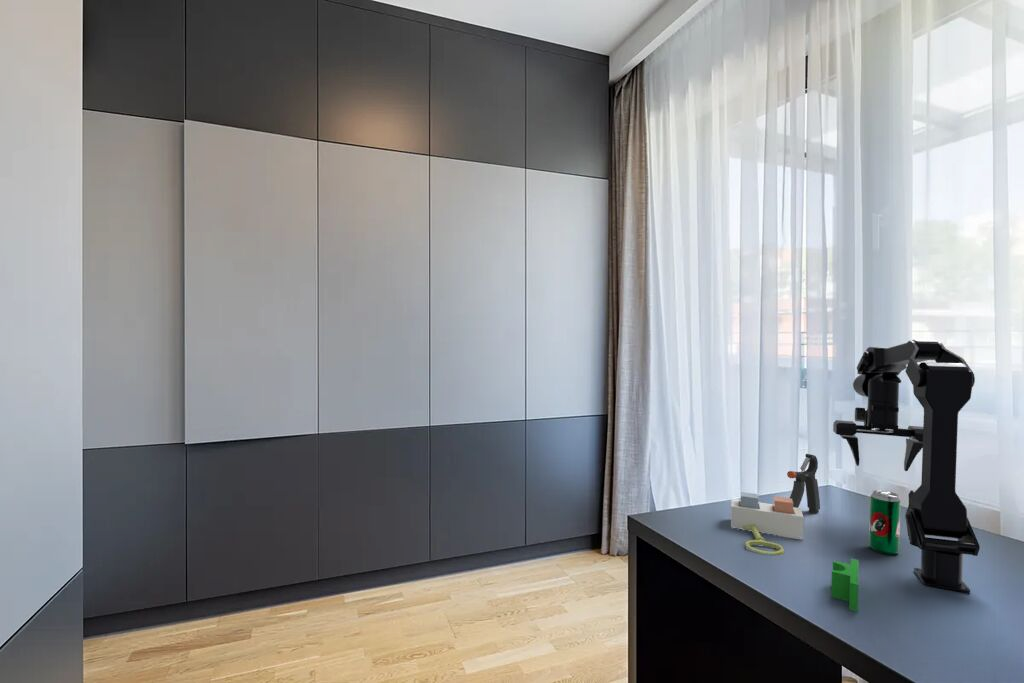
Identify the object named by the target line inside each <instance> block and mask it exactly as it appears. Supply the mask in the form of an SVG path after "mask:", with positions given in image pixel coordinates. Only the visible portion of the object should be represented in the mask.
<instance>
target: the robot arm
mask: <svg viewBox="0 0 1024 683" xmlns="http://www.w3.org/2000/svg"><path fill="white" fill-rule="evenodd" d="M927 361H931V362H927ZM932 361H934V362H932ZM918 363H919V364H918ZM856 370H857V375H858V376H857V377H856V378H854V380H853V383H852V387H853V390H854V391H855V392H856V394H858V395H859V396H861V397H866V398H867V407H866V408H867V409H866V408H865V407H855V409H854V421H853V420H840V419H839V420H838V419H836V420H835V421H833V425H832V427H833V429H832V431H833V432H834V433H835V434H836V435H838V436H840V438H842V439H843V440H846V441H847V444H848V445H849V448H850V451H851V453H852V457H853V459H854V463H855V466H856V467H859V466H860V451H859V450H860V449H859V438H858V437H857V436H856V434H867V435H878V436H879V435H881V436H889V437H890V436H893V437H901V438H902V437H905V445H906V446H905V453H904V460H903V470H904V471H905V472H908V471H909V469H910V468H911V465H912V464H913V462H914V460H915V459H916V457H917V455H918V454H919V453H920V452H921V451H922V457H921V458H922V459H921V481H920V482H921V484H920V485H919V487H918V488H917V489H912V490H910V491H909V493H908V506H907V509H906V511H905V516H904V517H905V522H906V530H907V531H906V532H907V536H908V540H909V544H910V545H911V546H914V547H917V548H918V549H919V550H921V554H920V555H921V557H920V562H921V563H920V568H919V567H914V568H913V571H914V573H915V574H916V575H917V577H918V578H919V579H920V581H921V582H922V584H924V585H925V586H928V587H929V586H930V587H936V588H941V589H946V590H951V591H958V592H963V593H968V594H969V593H971V589H970V588H969V587H968V586H967V584H966V583H965V582H964V581H963V561H964V557H963V556H964V555H968V556H974V557H978V556H979V552H980V549H981V548H980V547H981V546H980V544H979V541H978V539H977V537H976V534H975V532H974V530H973V527H972V525H971V522H970V520H969V518H968V510H967V507H966V506H965V504H964V503H963V501H962V500H961V498H960V497H959V495H958V494H957V492H956V487H957V486H956V482H957V481H956V479H957V477H956V476H957V453H958V452H957V450H958V431H959V430H958V429H959V428H958V424H959V413H960V411H961V410H962V408H963V407H964V406H965V405H966V404H967V403H968V402H969V401H970V400H971V399H972V398H971V397H972V393H973V392H972V391H973V387H974V386H975V382H976V380H975V379H976V377H975V373H974V372H973V370H972V369H971V367H970V366H969V365H968V363H967V361H966V360H965V359H964V358H963V357H962V356H960V355H957V354H956V353H954V352H953V351H951V350H949V349H947V348H946V347H945V346H944V344H943V343H942V342H941V341H939V340H938V341H937V340H936V339H912V340H908V341H907V342H905V343H901V344H898V345H893V346H891V347H890V346H888V347H886V346H868V348H866V350H865V351H864V352H863V354H862V356H861V357H860V360H859V362H858V364H857V366H856ZM904 370H905V371H904ZM902 371H904V372H905V374H906V375H907V377H908V379H909V381H910V382H911V384H912V387H913V388H912V389H913V391H912V392H913V395H914V397H915V399H916V400H917V401H918V402H919V404H920V405H921V407H922V409H923V425H922V426H919V425H908V428H900V427H899V412H900V408H899V399H900V398H899V397H900V396H899V394H900V392H899V391H900V388H899V387H900V384H901V383H902V379H901V378H900V377H899V375H900V373H901V372H902ZM855 422H860V423H861V422H862V423H863V425H861V424H857V423H855ZM926 536H928V537H926ZM929 536H930V537H929ZM937 537H938V538H937ZM943 538H947V539H943ZM948 538H949V539H948ZM954 539H956V540H954Z"/></svg>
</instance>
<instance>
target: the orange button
mask: <svg viewBox="0 0 1024 683" xmlns="http://www.w3.org/2000/svg"><path fill="white" fill-rule="evenodd" d="M773 504H774V511H775V512H782V513H788V514H793V501H792V499H791V498H790V497H782V496H775V495H774V496H773Z"/></svg>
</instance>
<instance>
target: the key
mask: <svg viewBox="0 0 1024 683" xmlns="http://www.w3.org/2000/svg"><path fill="white" fill-rule="evenodd" d="M743 527H744V530H743V531H745V530H752V534H753V536H754V538H755V539H753V540H747V541H746V542H745V543H744V547H745V546H746V547H747V548H748V549H750V550H753V551H755V552H759V553H763V554H762V555H765V554H770V555H769V556H782V555H784V554H785V549H784V547H783V546H782V545H780V544H779V543H776V542H772V541H766V539H765V538H764V536H763V537H762V536H761V533H759V532H758V530H757V528H756V526H755V525H751V526H743ZM749 545H763V546H769V547H768V548H770V547H773V548H772V549H774V548H776V549H775V550H776V551H765V550H761V549H757V548H754V547H753V546H749ZM763 546H762V547H763ZM777 549H778V550H777ZM755 552H754V553H755ZM759 553H758V554H759ZM764 553H765V554H764ZM781 554H782V555H781Z"/></svg>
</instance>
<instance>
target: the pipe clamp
mask: <svg viewBox="0 0 1024 683" xmlns="http://www.w3.org/2000/svg"><path fill="white" fill-rule="evenodd" d="M859 562H860V561H859V559H855V558H850V563H846V562H843V561H842V562H841V561H836V560H833V561H832V570H831V586H830V589H831V591H830V597H831V598H835V599H839V600H842V601H846V602H848V604H849V609H848V610H850V611H854V612H858V610H859V608H858V607H859V604H858V603H859V571H860V570H859V568H860V567H859V566H860V565H859Z"/></svg>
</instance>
